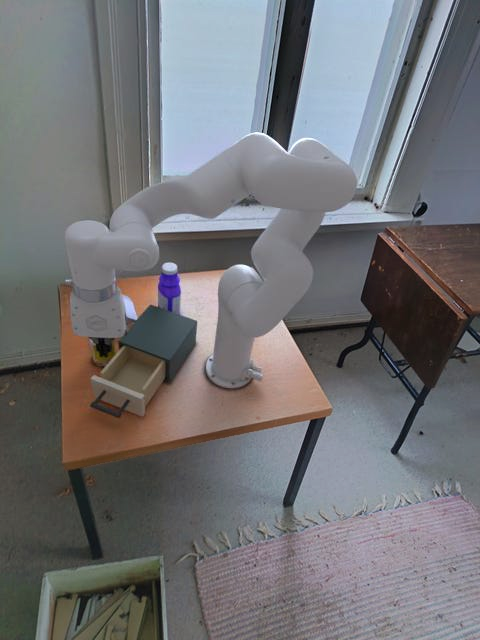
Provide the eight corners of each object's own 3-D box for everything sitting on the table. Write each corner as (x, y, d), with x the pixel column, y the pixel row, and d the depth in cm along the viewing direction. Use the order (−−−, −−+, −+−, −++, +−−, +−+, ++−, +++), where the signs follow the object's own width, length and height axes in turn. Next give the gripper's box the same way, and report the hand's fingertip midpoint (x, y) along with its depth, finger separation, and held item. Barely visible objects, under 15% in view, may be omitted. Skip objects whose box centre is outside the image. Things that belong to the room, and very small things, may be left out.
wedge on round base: (139, 329, 114) (129, 301, 122) (138, 312, 109) (128, 283, 118) (106, 336, 111) (98, 305, 119) (103, 317, 106) (95, 287, 115)
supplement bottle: (119, 361, 105) (116, 333, 98) (99, 370, 102) (94, 341, 95) (109, 348, 108) (106, 319, 101) (89, 356, 105) (84, 327, 98)
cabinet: (169, 383, 102) (169, 360, 96) (120, 364, 104) (117, 340, 98) (195, 343, 113) (197, 320, 107) (150, 327, 115) (150, 304, 110)
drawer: (131, 433, 89) (129, 416, 84) (81, 412, 91) (76, 394, 87) (172, 373, 103) (172, 354, 98) (127, 356, 105) (126, 337, 101)
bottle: (183, 319, 120) (185, 271, 108) (165, 325, 117) (166, 276, 105) (172, 304, 124) (173, 256, 112) (154, 310, 121) (153, 261, 109)
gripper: (47, 296, 72) (64, 364, 85) (133, 301, 74) (138, 366, 86) (58, 271, 78) (73, 338, 90) (138, 276, 80) (142, 341, 92)
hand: (104, 352), depth 88 cm, fingers closed
